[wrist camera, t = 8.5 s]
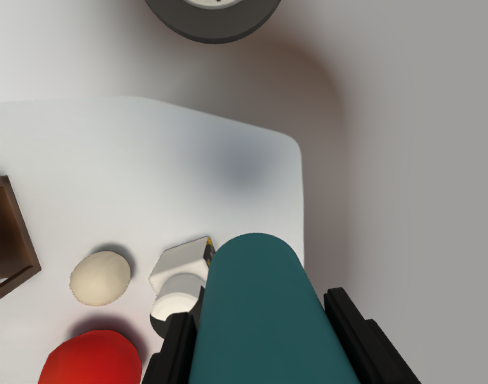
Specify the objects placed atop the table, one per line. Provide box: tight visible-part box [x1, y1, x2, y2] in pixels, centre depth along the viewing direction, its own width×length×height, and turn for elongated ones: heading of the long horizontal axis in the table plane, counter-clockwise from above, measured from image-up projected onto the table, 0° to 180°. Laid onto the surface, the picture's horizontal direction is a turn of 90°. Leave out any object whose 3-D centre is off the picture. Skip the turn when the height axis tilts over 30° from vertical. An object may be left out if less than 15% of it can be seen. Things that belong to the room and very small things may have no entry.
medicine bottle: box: [148, 237, 216, 339], centre depth 32 cm, size 7×7×12 cm
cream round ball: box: [69, 251, 130, 306], centre depth 34 cm, size 7×7×7 cm
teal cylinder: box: [188, 233, 361, 384], centre depth 10 cm, size 5×5×9 cm
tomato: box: [38, 330, 142, 384], centre depth 35 cm, size 13×12×11 cm
